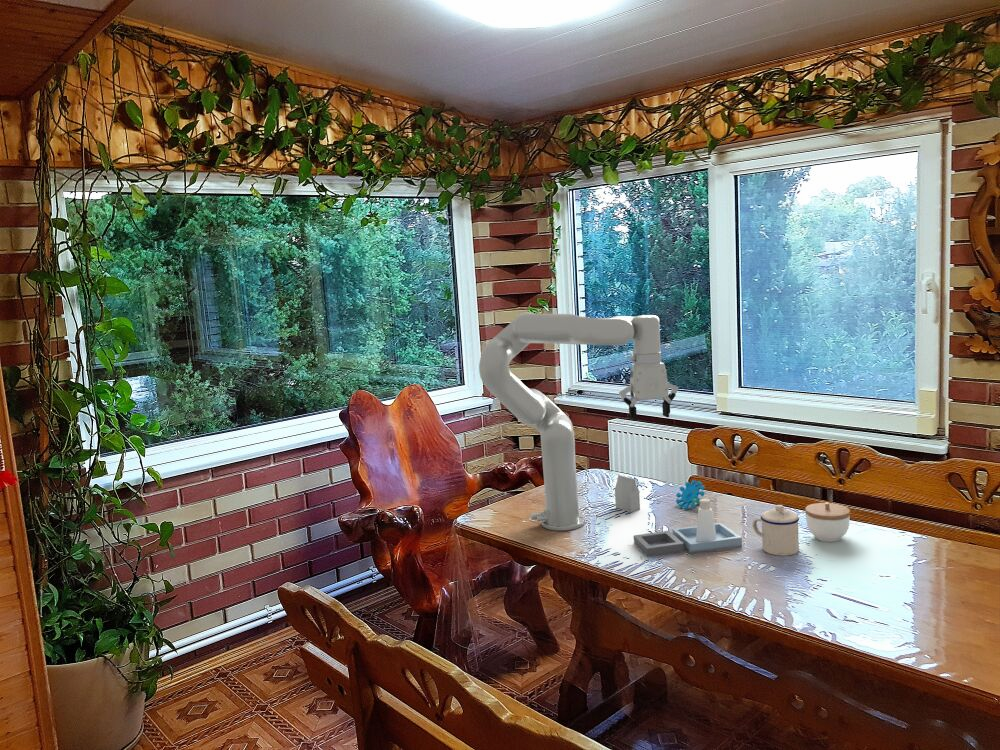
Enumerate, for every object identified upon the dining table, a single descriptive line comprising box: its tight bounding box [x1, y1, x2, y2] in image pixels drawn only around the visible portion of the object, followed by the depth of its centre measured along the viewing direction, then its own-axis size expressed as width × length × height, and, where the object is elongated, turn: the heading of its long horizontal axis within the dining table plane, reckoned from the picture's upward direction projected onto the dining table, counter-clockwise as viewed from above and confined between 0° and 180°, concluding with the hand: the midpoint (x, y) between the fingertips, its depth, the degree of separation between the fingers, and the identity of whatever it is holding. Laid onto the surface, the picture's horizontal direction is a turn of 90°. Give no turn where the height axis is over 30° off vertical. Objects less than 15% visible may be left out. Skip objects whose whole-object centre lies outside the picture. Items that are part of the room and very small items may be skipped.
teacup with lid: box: [752, 504, 800, 557], centre depth 193 cm, size 12×9×12 cm
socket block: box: [633, 530, 685, 557], centre depth 200 cm, size 10×10×2 cm
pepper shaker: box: [696, 498, 717, 542], centre depth 200 cm, size 5×5×11 cm
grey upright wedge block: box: [614, 474, 641, 513], centre depth 232 cm, size 4×7×10 cm, turn 35°
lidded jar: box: [804, 502, 851, 543], centre depth 197 cm, size 11×11×9 cm
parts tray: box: [671, 522, 743, 555], centre depth 201 cm, size 14×12×2 cm
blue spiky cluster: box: [675, 479, 706, 510], centre depth 230 cm, size 11×6×10 cm
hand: (649, 418), depth 217 cm, fingers open, 9 cm apart
